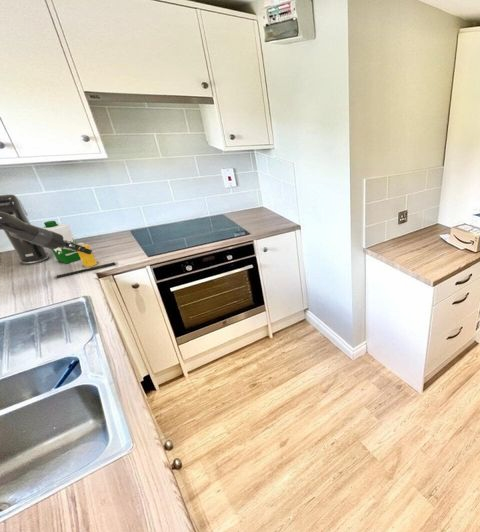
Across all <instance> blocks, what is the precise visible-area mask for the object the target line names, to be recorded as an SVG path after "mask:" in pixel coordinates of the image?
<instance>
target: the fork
mask: <svg viewBox="0 0 480 532" xmlns="http://www.w3.org/2000/svg"><path fill="white" fill-rule="evenodd" d="M113 266H116V263H115V261H114V262H109V263H105V264H100V265H94V266H90V267H87V268H84V269H80V270H75V271H70V272H66V273H62V274H57V275H56V278H58V279H59V278H64V277H69V276H72V275H76V274H81V273H85V272H90V271H96V270H99V269H103V268H108V267H113Z"/></svg>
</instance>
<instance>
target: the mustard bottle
mask: <svg viewBox="0 0 480 532" xmlns="http://www.w3.org/2000/svg"><path fill="white" fill-rule="evenodd" d="M77 244H78V245H80V246H83V247H86V249H89V250H92V249H91V248H90V245H89V244H87V243H84V242H79V243H77ZM80 248H81V247H79V249H78V250H80ZM77 252H78V254H79V256H80V258H81V259H80V260H81V262H82V265H83V266H84V267H85V268H91V267H95V266H97V265H98V262H97V260H96V257H95V256H94V253H93V252H92V253H91V254H86V253H83V252H79V251H77Z"/></svg>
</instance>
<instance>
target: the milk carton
mask: <svg viewBox="0 0 480 532" xmlns="http://www.w3.org/2000/svg"><path fill="white" fill-rule="evenodd" d="M43 225H44V226H43V227H42V228H44V229H47V230H49V231H52V232H55V233H58V234H61V235H62V236H63V240H65V241H66V240H67V241H70V242H72V243H75V244H77V242H76V239H75V237H74V235H73V234H72V233H73V232H72V231H71V228H70V225H68V224H65V223H57V221H56V220H48V221H45V222H43ZM51 252H52V253H53V255H54V257H55V258H56V260H57V262H60V263H63V264H64V263H65V264H70V263H73V262H76V261H80V260H81V258H80V256H79V254H78V252H76V251H72V250H68V249H62V248H56V249H51Z"/></svg>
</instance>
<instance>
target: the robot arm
mask: <svg viewBox="0 0 480 532" xmlns="http://www.w3.org/2000/svg"><path fill="white" fill-rule="evenodd" d="M0 230H3V232H4V233H5V235H6V237H7V239H8V240H9V242H10V244H11V245H12V247H13V249H14V251H15V253H16V254H17V256H18V258H19V260H20V262H21V264H23V265H31V264H37V263H40V262H41V263H42V262H44V261H46V260H48V259H49V255H48V254H47V251H46V250H45V248H46V249H49V250H52V249H56V248H62V249H68V250H72V251H76V252H77V251H79V252H83V253H86V254H91V253H93V249H91V250H89V249H86V247H83V246H80V245H78V244H79V243H76V244H75V243H72V242H70V241H67V240H66V241H65V240H63V236H62V235H61V234H58V233H55V232H52V231H49V230H47V229H44V228H43V227H39V226H36V225H33V224H31V222H30V219H29V217H28V215H27V214H26V212H25V209H24V207H23V204H22V203H21V201H20V199H19V198H18V197H17V196H16V195H15V194H1V195H0ZM79 247H81V248H80V250H78V249H79Z"/></svg>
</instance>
